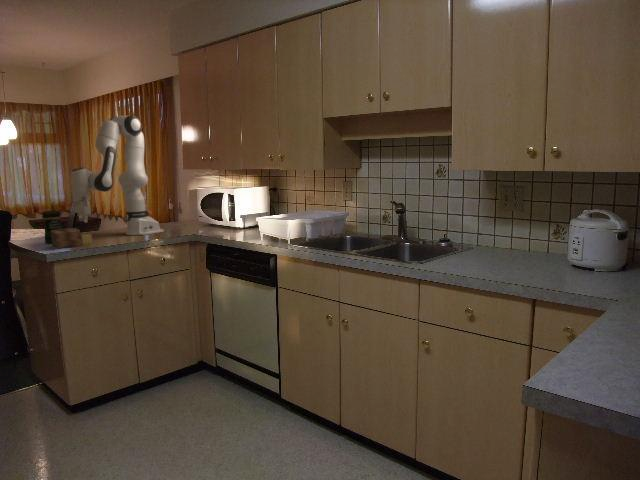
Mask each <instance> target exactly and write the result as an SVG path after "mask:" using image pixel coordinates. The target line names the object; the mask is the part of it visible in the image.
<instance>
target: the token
mask: <svg viewBox="0 0 640 480" xmlns="http://www.w3.org/2000/svg"><path fill="white" fill-rule="evenodd" d="M80 236H81V245H84V244H92V243H93V238H92V233H85V234H80Z"/></svg>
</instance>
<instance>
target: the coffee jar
mask: <svg viewBox="0 0 640 480" xmlns="http://www.w3.org/2000/svg"><path fill="white" fill-rule="evenodd" d="M41 217H42V221H43V224H44V243H45V244H52V237H51V230H59V229H62V223H61V221H62V216H61V211H60V210H47V211H43V212H42V216H41Z"/></svg>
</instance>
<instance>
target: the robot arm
mask: <svg viewBox="0 0 640 480" xmlns="http://www.w3.org/2000/svg"><path fill="white" fill-rule="evenodd" d="M120 135H121V136H122V135H123V136H124V137H125V144H124V145H125V147H124V162H125V165H126V171H123V172H121V173H120V174H119V175H118V176H119V177H118V182H119V184H120V185H121V190H122V192H123V195H124V200H125V209H126V212H125V216H126V223H127V224H126V228H127V229H126V234H125V235H126V236H127V235H128V236H146V235H151V234H152V235H153V234H159V233H164V232H165V229H163V228H161V227H160V222H158V221H157V220H156V219H154V218H153V217H151V216H150V215H152V211H151V210H146V202H145V201H146V200H145V197H144V195H143V193H142V190H141V189H143V188H145V187H146V186H147V185H148V182H149V177H148V175H147V173H146V168H145V136H144V133H143V132H142V122H141V120H140V119H139V117H137V116H135V115H119V116H113V117H111V118H110V119H109V120H104V121H103V122H102V124H101V126H100V128H99V130H98V132H97V136H96V140H95V149H96V150H97V151H98V153H100V154H101V155H102V160H103V161H102V165H101V170H100V172H99V173H98V172H97V173H96V172H93V171H91V170H89V169H87V167H77V168H76V167H75V168H74V169H72V170H71V174H70V182H71V183H70V185H71V188H72V190H71V193H72V194H71V200H72V203H73V208H74V213H76V214H77V216H78V221H79V222H83V223H88V218H89V215H91V212H92V211H91V204H90V201H91V193H90V191H96V192H98V191H99V192H104V193H105V192H108V191H111V189H113V186H114V170H115V165H116V158H117V157H116V156H117V150H116V149H117V145H118V141H119V137H120Z"/></svg>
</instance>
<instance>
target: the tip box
mask: <svg viewBox="0 0 640 480" xmlns="http://www.w3.org/2000/svg"><path fill="white" fill-rule="evenodd" d="M51 237H52V243H51V245H52V247H53V248H54V247H55V248H54V249H56V248H57V250H62V248H63V249H69V248H78V247H82V246H83V244H82V241H81V229H79V228H75V227H71V228H70V227H69V228H61V229H59V230H51Z"/></svg>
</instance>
